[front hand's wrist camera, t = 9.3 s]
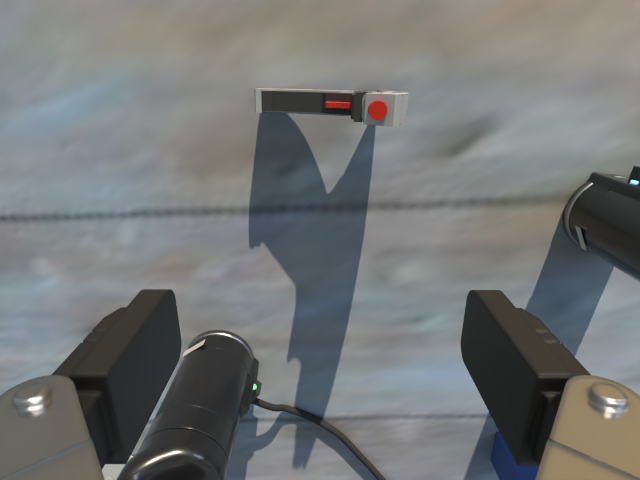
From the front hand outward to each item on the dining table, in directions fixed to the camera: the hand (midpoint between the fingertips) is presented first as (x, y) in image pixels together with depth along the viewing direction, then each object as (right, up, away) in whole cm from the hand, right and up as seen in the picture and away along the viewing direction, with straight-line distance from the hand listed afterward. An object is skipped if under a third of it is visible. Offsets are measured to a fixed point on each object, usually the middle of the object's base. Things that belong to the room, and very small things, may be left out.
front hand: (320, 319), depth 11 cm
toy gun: (+1, +18, +35) cm, 39 cm away
